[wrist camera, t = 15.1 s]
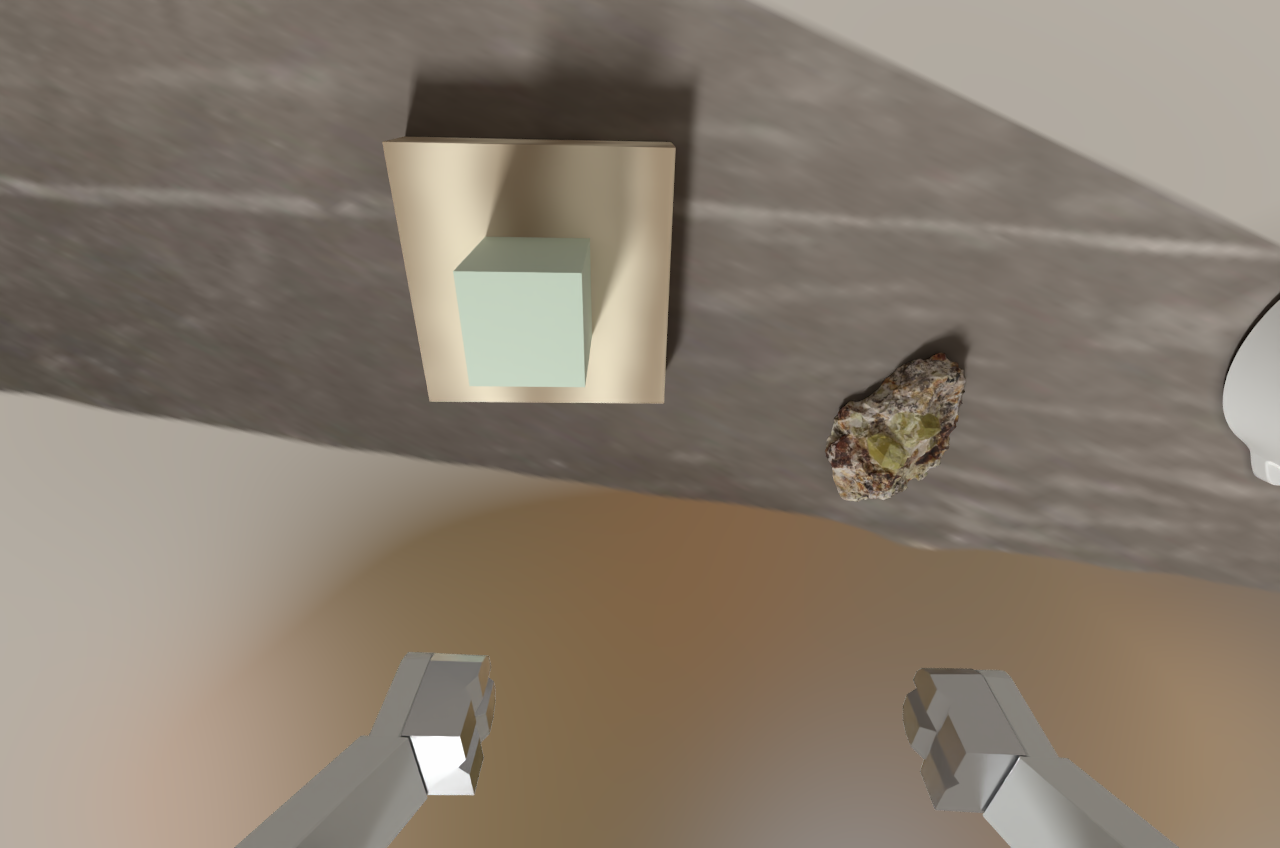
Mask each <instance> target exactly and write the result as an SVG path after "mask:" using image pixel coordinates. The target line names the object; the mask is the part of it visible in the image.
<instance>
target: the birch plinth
mask: <svg viewBox="0 0 1280 848" xmlns="http://www.w3.org/2000/svg"><path fill="white" fill-rule="evenodd" d="M382 143H383V148H384V154H385V159H386V165H387V170H388V176H389V181H390V187H391V192H392V197H393V203H394V208H395V214H396V219H397V225H398V230H399V236H400V241H401V247H402V252H403V258H404V263H405V269H406V274H407V280H408V285H409V290H410V296H411V301H412V307H413V312H414V318H415V323H416V329H417V334H418V340H419V345H420V351H421V356H422V362H423V367H424V372H425V378H426V383H427V389H428V394H429V400H430V401H432V402H554V403H664V388H665V366H666V345H667V323H668V301H669V280H670V258H671V236H672V215H673V193H674V171H675V150H676V148H675V146H674V145H673V144H672V143H671V142H641V141H592V140H544V139H495V138H447V137H401V138H397V139H392V140H388V141H384V142H382ZM484 237H542V238H590V264H591V309H592V340H591V348H590V355H589V362H588V370H587V377H586V385H585V387H502V386H469V379H468V372H467V365H466V358H465V351H464V344H463V337H462V330H461V323H460V316H459V309H458V302H457V295H456V288H455V281H454V274H453V271H454V270H455V269H456V268H457V267H458V265H459V264H460V263H461V262H462V261H463V260H464V259H465V258H466V257H467V256H468V255H469V254H470V253H471V251H472V250H473V249H474V248H475V247H476V246H477V245H478V244H479V243H480V242H481V241H482V240H483V239H484Z"/></svg>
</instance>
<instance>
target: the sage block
mask: <svg viewBox="0 0 1280 848" xmlns="http://www.w3.org/2000/svg"><path fill="white" fill-rule="evenodd" d="M453 274H454V281H455V288H456V295H457V302H458V309H459V316H460V323H461V330H462V337H463V344H464V351H465V358H466V365H467V372H468V379H469V386H502V387H585V385H586V377H587V370H588V362H589V355H590V348H591V340H592V309H591V264H590V238H542V237H484V239H483V240H482V241H481V242H480V243H479V244H478V245H477V246H476V247H475V248H474V249H473V250H472V251H471V253H470V254H469V255H468V256H467V257H466V258H465V259H464V260H463V261H462V262H461V263H460V264H459V265H458V267H457V268H456V269H455V270H454V271H453Z"/></svg>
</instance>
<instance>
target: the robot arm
mask: <svg viewBox="0 0 1280 848" xmlns="http://www.w3.org/2000/svg"><path fill="white" fill-rule="evenodd" d="M1223 410H1224V415H1225V418H1226V421H1227V423H1228V425H1229V427H1230V428H1231V430H1232V431H1233V432H1234V434H1235V435H1236V436H1237V437H1238V438H1240V439H1241V440H1242V441H1243V442H1244V443H1245V444H1246V445H1247V446H1248V448H1249V449H1250V453H1251V464H1252V470H1253V472H1254V474H1255V476H1256V477H1258V478H1260V479H1262V480H1264V481H1266V482H1268V483H1270V484H1272V485H1280V300H1279V301H1278V302H1277V303H1276V304H1275V305H1274V306H1273V307H1272V308H1271V309H1270V310H1269V311H1268V312H1267V313H1266V314H1265V315H1264V316H1263V318H1262V319H1261V320H1260V321H1259V322H1258V323H1257V325H1256V326H1255V327H1254V328H1253V330H1252V331H1251V332H1250V334H1249V335H1248V337H1247V338H1246V340H1245V341H1244V343H1243V344H1242V346H1241V347H1240V349H1239V351H1238V353H1237V354H1236V356H1235V358H1234V360H1233V362H1232V365H1231V367H1230V369H1229V372H1228V375H1227V378H1226V381H1225V386H1224V392H1223ZM490 670H491V663H490V659H489V656H483V655H463V654H442V653H422V652H408V653H407V654H406V656H405V657H404V658H403V659H402V661H401V663H400V665H399V668H398V670H397V672H396V675H395V677H394V679H393V682H392V684H391V686H390V688H389V691H388V693H387V695H386V698H385V700H384V702H383V704H382V707H381V709H380V712H379V714H378V716H377V718H376V721H375V723H374V725H373V728H372V730H371V732H370V735H369V736H360V737H359V738H358V739H357V740H356V741H354V742H353V743H352V744H351V745H350V746H349V747H348V748H347V749H345V750H344V751H343V752H342V753H341V754H340V755H339V756H338V757H336V758H335V759H334V760H333V761H332V762H331V763H329V764H328V765H327V766H326V767H325V768H324V769H323V770H322V771H320V772H319V773H318V774H317V775H316V776H315V777H314V778H313V779H311V780H310V781H309V782H308V783H307V784H306V785H305V786H304V787H302V788H301V789H300V790H299V791H298V792H297V793H296V794H294V795H293V796H292V797H291V798H290V799H289V800H288V801H287V802H285V803H284V804H283V805H282V806H281V807H280V808H279V809H277V810H276V811H275V812H274V813H273V814H272V815H271V816H269V817H268V818H267V819H266V820H265V821H264V822H263V823H262V824H261V825H259V826H258V827H257V828H256V829H255V830H254V831H252V832H251V833H250V834H249V835H248V836H247V837H246V838H245V839H244V840H242V841H241V842H240V843H239V844H238V845H237V846H236V847H235V848H387V847H388V845H389V844H390V843H391V841H393V839H394V838H395V837H396V836H397V834H398V833H399V832H400V831H401V830H402V828H403V827H404V826H405V825H406V824H407V822H408V821H409V820H410V819H411V817H412V816H413V815H414V814H415V812H416V811H417V810H418V809H419V808H420V806H421V805H422V804H423V803H424V801H425V800H426V799H427V795H474V794H475V789H476V786H477V782H478V778H479V774H480V770H481V766H482V762H483V758H484V757H483V752H482V747H481V742H482V741H483V740H484V739H485V738H486V737H487V736H488V735H489V734H490V730H491V726H492V721H493V715H494V709H495V685H494V681H492V680H491V679H490V678H489V674H490ZM913 681H914V683H915V686H916V689H915V690H913V691H912V692H910V693H908V694H907V696H906V698H905V701H904V704H903V723H904V727H905V732H906V735H907V738H908V741H909V743H910V746H911V747H912V748H913V750H915V751H916V752H917V753H918V754H919V755H920V756H921V757H922V758H923V759H924V761H923V764H922V767H921V770H920V772H921V775H922V777H923V780H924V783H925V785H926V788H927V791H928V793H929V795H930V798H931V801H932V803H933V806H934V809H935V810H944V811H962V812H977V813H984V814H983V817H984V818H985V819H986V820H987V821H988V822H989V823H990V824H991V826H992V827H993V828H994V829H995V830H996V831H997V832H998V833H999V834H1000V836H1001V837H1002V838H1003V839H1004V840H1005V841H1006V842H1007V843H1008V844H1009V845H1010V847H1011V848H1179V847H1178V846H1176V845H1175V844H1174V843H1173V842H1172V841H1170V840H1169V839H1168V838H1167V837H1165V836H1164V835H1163V834H1162V833H1160V832H1159V831H1158V830H1157V829H1155V828H1154V827H1153V826H1152V825H1150V824H1149V823H1148V822H1147V821H1145V820H1144V819H1143V818H1141V817H1140V816H1139V815H1138V814H1136V813H1135V812H1134V811H1133V810H1131V809H1130V808H1129V807H1128V806H1126V805H1125V804H1124V803H1123V802H1121V801H1120V800H1119V799H1118V798H1117V797H1115V796H1114V795H1113V794H1112V793H1110V792H1109V791H1108V790H1107V789H1105V788H1104V787H1103V786H1102V785H1100V784H1099V783H1098V782H1097V781H1095V780H1094V779H1093V778H1091V777H1090V776H1089V775H1088V774H1087V773H1085V772H1084V771H1083V770H1082V769H1080V768H1079V767H1078V766H1077V765H1075V764H1074V763H1073V762H1072V761H1070V760H1069V759H1068V758H1059V757H1058V755H1057V753H1056V752H1055V750H1054V748H1053V747H1052V745H1051V743H1050V742H1049V740H1048V738H1047V737H1046V735H1045V733H1044V732H1043V730H1042V728H1041V727H1040V725H1039V723H1038V722H1037V720H1036V718H1035V717H1034V715H1033V713H1032V712H1031V710H1030V708H1029V707H1028V705H1027V703H1026V702H1025V700H1024V698H1023V697H1022V695H1021V693H1020V692H1019V690H1018V689H1017V687H1016V685H1015V683H1014V682H1013V680H1012V678H1011V677H1010V676H1009V675H1008V674H1007V673H1006V672H1005V671H1001V670H973V669H952V668H947V669H946V668H921V669H920V670H918V671H917V672H916V674H915V676H914V679H913Z"/></svg>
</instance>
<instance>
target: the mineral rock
mask: <svg viewBox="0 0 1280 848" xmlns="http://www.w3.org/2000/svg"><path fill="white" fill-rule="evenodd" d="M963 371H964V370H962V369H960V368H959V367H958V363H956V362H951V361H949V360H948V359H947V357H946V355H945V353H938V354H935V355H933V356H931V357H930V358H929V359H926V360H922V359H917V360H915V359H914V360H912V361H910V362H908V363H906V364H904V365H902V367H899V368H897V369H896V371H895V372H894V373H893V374H891V376H890V377H888V378H886V379H885V380H884V382H883V383H882V384H881V387H880V388H879V389H877V390H876V391H875V392H874V393H873V394H872V395H871V396H869V397H867V398H865V399H864V400H861V401H859V402H854V401H850V402H849V403H847V404H846V405H845V406H844V407H842V409H841V410H839V412H838V416H836V417H835V419H834V424H833V428H832V432H831V436H829V437H828V439H827V444H826V450H825V451H826V457H827V458H828V460H829V462H830V463H831V465H832V469H833V479H834V481H835V484H836V486H837V489H838V492H839V494H840V496H841V497H842V498H843V499H845V500H847V501H849V500H851V501H856V502H858V501H860V500H863V499H866V500H867V499H868V498H871V499H874V498H880V499H882V500H884V499H887V498H890V497H892V495H895V494H898V493H900V492H902V491H904V490H905V489H907V488H908V487H907V483H908V481H909V480H911V479H913V478H917V480H918V481H919V480H921V479H923V478H924V477H925V476H926V475H927V471H928V469H929V468H934V467H937V466H938V465H940V458H941V457H942V456H943V454H944V452H945V451H946V450H948V449H949V440H950V438H949V437H948V436H949V435H950V433H951V432H952V431H953V430H954V429H955V428H956V424H955V423H957V422H958V406H959V405H961V404H963V403H962V393H964V392H965V391H964V388H963V387H964V384H965V381H966V380H965V378H964V376H963Z"/></svg>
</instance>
